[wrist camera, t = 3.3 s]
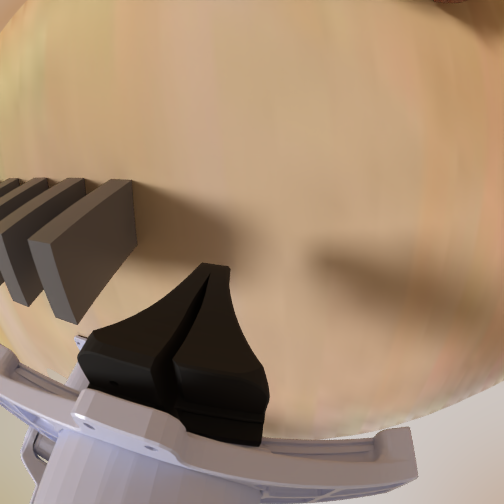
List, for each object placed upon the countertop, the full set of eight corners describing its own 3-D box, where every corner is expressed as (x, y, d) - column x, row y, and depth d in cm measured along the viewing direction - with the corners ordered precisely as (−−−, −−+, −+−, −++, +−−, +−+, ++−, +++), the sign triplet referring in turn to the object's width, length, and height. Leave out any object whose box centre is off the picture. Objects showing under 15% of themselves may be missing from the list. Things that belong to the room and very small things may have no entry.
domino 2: (92, 238, 20) (28, 307, 13) (77, 235, 20) (13, 300, 13) (83, 178, 17) (1, 234, 10) (67, 178, 17) (-14, 231, 10)
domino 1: (137, 244, 20) (77, 325, 13) (118, 241, 20) (55, 317, 13) (131, 180, 17) (49, 243, 10) (111, 179, 17) (27, 239, 10)
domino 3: (56, 232, 20) (-6, 292, 13) (44, 230, 20) (-17, 287, 13) (46, 177, 17) (-30, 227, 10) (34, 177, 17) (-40, 225, 10)
